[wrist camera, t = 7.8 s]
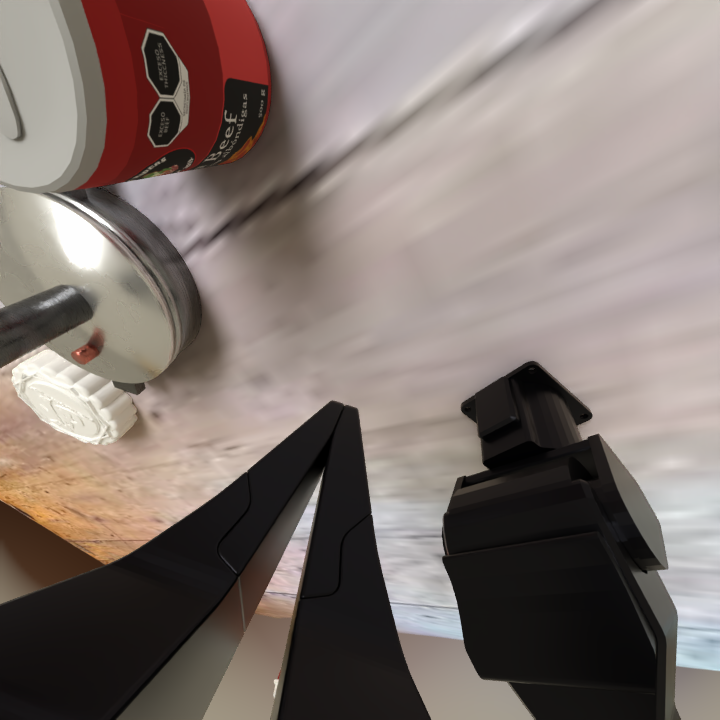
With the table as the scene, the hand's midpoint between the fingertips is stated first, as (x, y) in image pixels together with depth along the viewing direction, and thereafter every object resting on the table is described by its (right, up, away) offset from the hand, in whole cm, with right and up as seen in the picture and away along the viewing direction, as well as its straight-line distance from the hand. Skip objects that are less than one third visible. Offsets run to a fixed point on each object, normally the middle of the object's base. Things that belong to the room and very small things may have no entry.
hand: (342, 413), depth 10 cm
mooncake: (-31, -2, +27) cm, 41 cm away
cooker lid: (-20, +6, +14) cm, 25 cm away
